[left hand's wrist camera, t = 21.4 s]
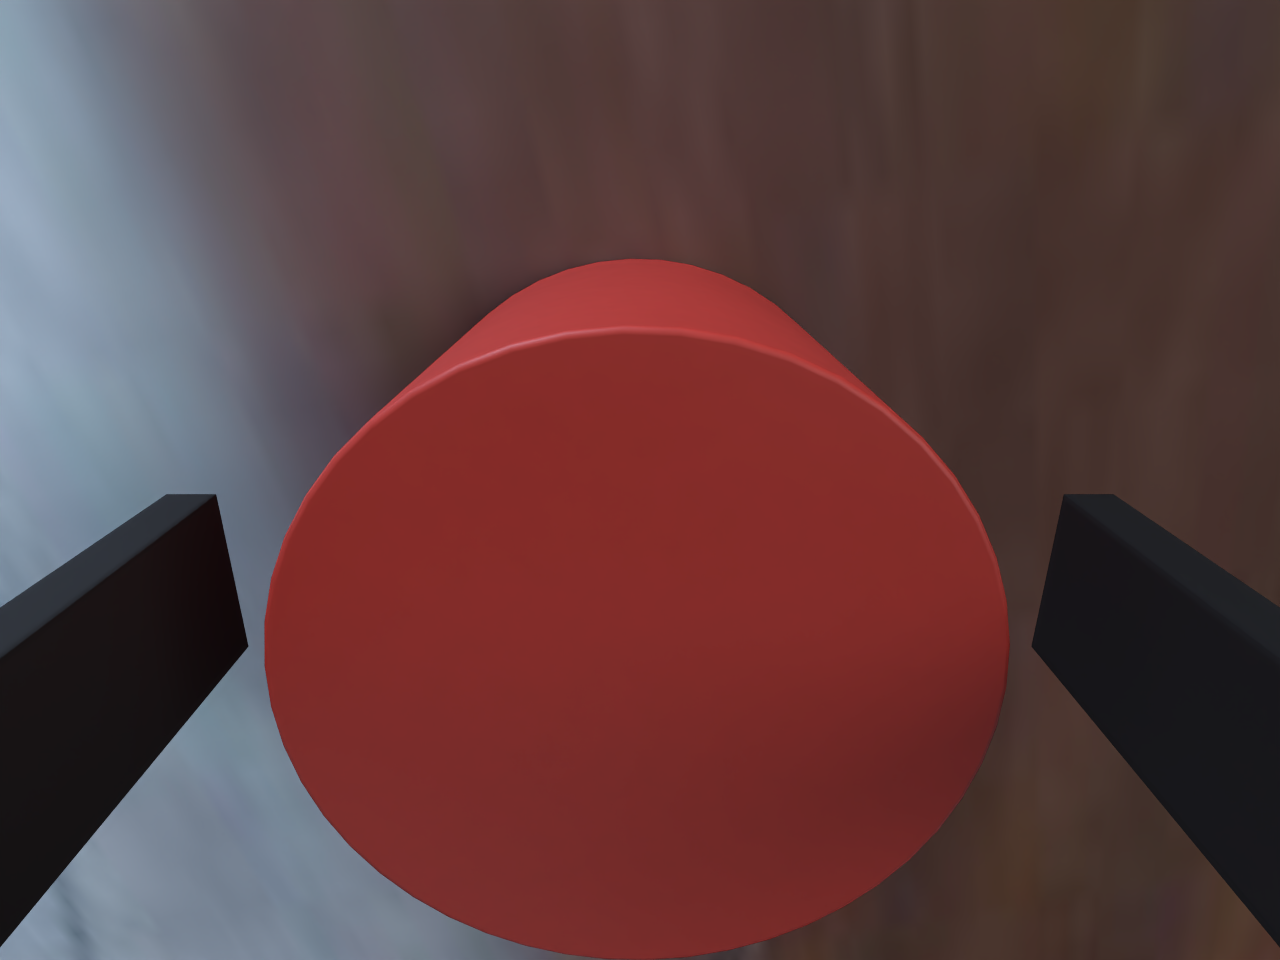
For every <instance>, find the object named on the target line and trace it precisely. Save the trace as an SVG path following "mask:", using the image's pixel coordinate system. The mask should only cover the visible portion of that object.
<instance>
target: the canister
mask: <svg viewBox="0 0 1280 960" xmlns="http://www.w3.org/2000/svg"><path fill="white" fill-rule="evenodd" d="M1009 647H1010V641H1009V627H1008V614H1007V601H1006V596H1005V591H1004V587H1003V583H1002V579H1001V575H1000V570H999V566H998V562H997V558H996V555H995V553H994V550H993V548H992V545H991V543H990V540H989V538H988V536H987V533H986V531H985V528H984V526H983V524H982V521H981V519H980V516H979V514H978V513H977V511H976V509H975V508H974V506H973V505H972V503H971V501H970V500H969V498H968V496H967V495H966V493H965V491H964V490H963V488H962V486H961V485H960V483H959V482H958V480H957V478H956V477H955V475H954V474H953V473H952V472H951V470H950V469H949V468H948V467H947V466H946V464H945V463H944V462H943V461H942V460H941V459H940V457H939V456H938V455H937V454H936V453H935V451H934V450H933V449H932V448H931V447H930V446H929V444H928V443H927V442H926V441H925V440H924V438H923V437H922V436H920V435H919V434H918V433H917V432H916V431H915V430H914V429H913V428H912V427H911V426H909V425H908V424H907V423H906V422H905V421H904V420H903V419H902V418H901V417H899V416H898V415H897V414H896V413H895V412H894V411H893V410H892V409H891V408H890V407H888V406H887V405H886V404H885V403H884V402H883V401H882V400H881V399H880V398H879V397H877V396H876V395H875V394H874V393H873V392H872V391H871V390H870V389H869V388H868V387H866V386H865V385H864V384H863V383H862V382H861V381H860V380H859V379H858V378H856V377H855V376H854V375H853V374H852V373H851V372H850V371H849V370H848V369H847V368H845V367H844V366H843V365H842V364H841V363H840V362H839V361H838V360H837V359H836V358H834V357H833V356H832V355H831V354H830V353H829V352H828V351H827V350H826V349H825V348H823V347H822V346H821V345H820V344H819V343H818V342H817V341H816V340H815V339H814V338H812V337H811V336H810V335H809V334H808V333H807V332H806V331H805V330H804V329H802V328H801V327H800V326H799V325H798V324H797V323H796V322H795V321H794V320H792V319H791V318H790V317H789V316H788V315H787V314H786V313H784V312H783V311H782V310H781V309H780V308H779V307H778V306H776V305H775V304H774V303H772V302H771V301H769V300H768V299H766V298H765V297H763V296H762V295H760V294H758V293H757V292H755V291H754V290H752V289H751V288H749V287H747V286H745V285H743V284H741V283H739V282H736V281H734V280H732V279H730V278H728V277H726V276H724V275H722V274H718V273H715V272H712V271H709V270H706V269H703V268H699V267H696V266H693V265H688V264H682V263H676V262H670V261H665V260H649V259H623V260H613V261H603V262H596V263H592V264H588V265H584V266H580V267H576V268H571V269H567V270H565V271H562V272H560V273H557V274H555V275H552V276H550V277H547V278H544V279H542V280H539V281H537V282H536V283H534V284H532V285H530V286H528V287H527V288H525V289H523V290H521V291H520V292H518V293H516V294H514V295H512V296H511V297H510V298H508V299H507V300H506V301H504V302H503V303H502V304H500V305H499V306H498V307H497V308H495V309H494V310H493V311H491V312H490V313H489V314H487V315H486V316H485V317H484V318H483V319H482V320H481V321H480V322H478V323H477V324H476V325H475V326H474V327H473V328H472V329H471V330H470V331H468V332H467V333H466V334H465V335H464V336H463V337H462V338H461V339H459V340H458V341H457V342H456V343H455V344H454V345H453V346H452V347H451V348H449V349H448V350H447V351H446V352H445V353H444V354H443V355H442V356H440V357H439V358H438V359H437V360H436V361H435V362H434V363H433V364H431V365H430V366H429V367H428V368H427V369H426V370H425V371H424V372H423V373H421V374H420V375H419V376H418V377H417V378H416V379H415V380H414V381H412V382H411V383H410V384H409V385H408V386H407V387H406V388H405V389H404V390H402V391H401V392H400V393H399V394H398V395H397V396H396V397H395V398H393V399H392V400H391V401H390V402H389V403H388V404H387V405H386V406H385V407H383V408H382V409H381V410H380V411H379V412H378V413H377V414H376V415H374V416H373V417H372V418H371V419H370V420H369V421H368V422H367V423H366V424H365V425H364V426H363V427H362V428H361V429H360V430H359V431H358V432H357V433H356V434H355V435H354V436H353V437H352V438H351V439H350V440H349V441H348V442H347V443H346V444H345V445H344V446H343V447H342V448H341V449H340V450H339V451H338V452H337V453H336V454H335V455H334V457H333V458H332V459H331V461H330V462H329V464H328V465H327V466H326V468H325V469H324V470H323V472H322V473H321V475H320V476H319V477H318V479H317V480H316V481H315V483H314V484H313V486H312V487H311V488H310V490H309V491H308V493H307V494H306V496H305V497H304V499H303V501H302V503H301V505H300V507H299V509H298V511H297V513H296V515H295V517H294V519H293V521H292V523H291V525H290V527H289V529H288V531H287V533H286V535H285V537H284V540H283V543H282V547H281V550H280V553H279V556H278V559H277V562H276V565H275V568H274V571H273V574H272V577H271V583H270V590H269V596H268V603H267V609H266V615H265V671H266V677H267V683H268V690H269V696H270V702H271V707H272V711H273V714H274V717H275V720H276V723H277V726H278V729H279V733H280V736H281V739H282V742H283V745H284V747H285V749H286V751H287V754H288V756H289V758H290V760H291V762H292V764H293V766H294V768H295V770H296V772H297V774H298V776H299V778H300V780H301V782H302V784H303V785H304V787H305V788H306V790H307V791H308V793H309V794H310V796H311V797H312V799H313V800H314V802H315V803H316V805H317V806H318V808H319V809H320V811H321V812H322V814H323V815H324V817H325V818H326V819H327V820H328V821H329V822H330V824H331V825H332V826H333V827H334V828H335V829H336V830H337V832H338V833H339V834H340V835H341V836H342V837H343V839H344V840H345V841H346V842H347V843H348V844H349V845H350V846H351V847H352V848H353V849H354V850H355V851H356V852H357V853H358V854H359V855H360V856H362V857H363V858H364V859H365V860H366V861H367V862H368V863H369V864H370V865H372V866H373V867H374V868H375V869H376V870H377V871H378V872H379V873H380V874H382V875H383V876H385V877H386V878H387V879H389V880H390V881H392V882H393V883H394V884H396V885H397V886H399V887H400V888H401V889H403V890H404V891H406V892H407V893H408V894H410V895H411V896H413V897H414V898H416V899H418V900H420V901H421V902H423V903H425V904H427V905H428V906H430V907H432V908H434V909H436V910H437V911H439V912H441V913H443V914H444V915H446V916H448V917H450V918H452V919H455V920H457V921H459V922H462V923H464V924H466V925H469V926H471V927H473V928H476V929H478V930H480V931H482V932H485V933H487V934H491V935H494V936H497V937H500V938H503V939H506V940H509V941H513V942H516V943H519V944H522V945H525V946H530V947H534V948H539V949H544V950H548V951H553V952H558V953H562V954H568V955H577V956H585V957H594V958H602V959H631V960H653V959H667V958H681V957H691V956H697V955H703V954H709V953H715V952H721V951H727V950H732V949H735V948H739V947H743V946H747V945H750V944H754V943H758V942H761V941H765V940H769V939H772V938H774V937H777V936H779V935H782V934H785V933H787V932H790V931H793V930H795V929H798V928H801V927H803V926H806V925H808V924H810V923H812V922H814V921H816V920H818V919H820V918H822V917H824V916H826V915H828V914H830V913H832V912H834V911H836V910H838V909H840V908H842V907H844V906H846V905H847V904H849V903H851V902H852V901H854V900H855V899H857V898H858V897H860V896H862V895H863V894H865V893H866V892H868V891H869V890H871V889H872V888H874V887H876V886H877V885H879V884H880V883H881V882H882V881H884V880H885V879H886V878H887V877H888V876H890V875H891V874H892V873H893V872H895V871H896V870H897V869H898V868H900V867H901V866H902V865H903V864H905V863H906V862H907V861H908V860H909V859H910V858H911V857H912V856H913V855H914V854H915V853H916V852H917V851H918V850H919V849H920V848H921V847H922V846H923V845H924V844H925V843H926V842H927V841H928V840H929V839H930V838H931V837H932V836H933V835H934V834H935V833H936V832H937V831H938V830H939V828H940V827H941V826H942V824H943V823H944V822H945V820H946V819H947V818H948V816H949V815H950V814H951V812H952V811H953V810H954V808H955V807H956V806H957V805H958V803H959V802H960V801H961V799H962V798H963V796H964V794H965V792H966V791H967V789H968V787H969V785H970V784H971V782H972V780H973V778H974V777H975V775H976V773H977V771H978V770H979V768H980V766H981V764H982V762H983V760H984V757H985V755H986V752H987V750H988V747H989V745H990V742H991V740H992V737H993V735H994V732H995V730H996V727H997V723H998V719H999V715H1000V711H1001V707H1002V702H1003V698H1004V694H1005V690H1006V684H1007V672H1008V660H1009Z"/></svg>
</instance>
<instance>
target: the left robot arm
mask: <svg viewBox="0 0 1280 960" xmlns="http://www.w3.org/2000/svg"><path fill="white" fill-rule="evenodd" d="M247 648H248V642H247V637H246V633H245V628H244V623H243V618H242V614H241V609H240V604H239V600H238V595H237V590H236V586H235V581H234V576H233V571H232V567H231V562H230V557H229V553H228V548H227V543H226V539H225V534H224V529H223V524H222V520H221V515H220V510H219V506H218V501H217V496H216V494H166V495H165V496H163V497H162V498H161V499H159V500H158V501H156V502H155V503H153V504H152V505H150V506H149V507H147V508H146V509H144V510H143V511H141V512H140V513H139V514H137V515H136V516H134V517H133V518H131V519H130V520H128V521H127V522H125V523H124V524H122V525H121V526H119V527H118V528H117V529H115V530H114V531H112V532H111V533H109V534H108V535H106V536H105V537H103V538H102V539H100V540H99V541H97V542H96V543H94V544H93V545H92V546H90V547H89V548H87V549H86V550H84V551H83V552H81V553H80V554H78V555H77V556H75V557H74V558H72V559H71V560H70V561H68V562H67V563H65V564H64V565H62V566H61V567H59V568H58V569H56V570H55V571H53V572H52V573H50V574H49V575H47V576H46V577H45V578H43V579H42V580H40V581H39V582H37V583H36V584H34V585H33V586H31V587H30V588H28V589H27V590H25V591H24V592H23V593H21V594H20V595H18V596H17V597H15V598H14V599H12V600H11V601H9V602H8V603H6V604H5V605H3V606H2V607H0V947H1V946H2V944H3V943H4V942H5V941H6V940H7V938H8V937H9V936H10V935H11V934H12V932H13V931H14V930H15V929H16V927H17V926H18V925H19V924H20V923H21V921H22V920H23V919H24V918H25V917H26V915H27V914H28V913H29V912H30V911H31V909H32V908H33V907H34V906H35V904H36V903H37V902H38V901H39V900H40V898H41V897H42V896H43V895H44V894H45V892H46V891H47V890H48V889H49V888H50V886H51V885H52V884H53V883H54V881H55V880H56V879H57V878H58V877H59V875H60V874H61V873H62V872H63V871H64V869H65V868H66V867H67V866H68V864H69V863H70V862H71V861H72V860H73V858H74V857H75V856H76V855H77V854H78V852H79V851H80V850H81V849H82V848H83V846H84V845H85V844H86V843H87V841H88V840H89V839H90V838H91V837H92V835H93V834H94V833H95V832H96V831H97V829H98V828H99V827H100V826H101V825H102V823H103V822H104V821H105V820H106V818H107V817H108V816H109V815H110V814H111V812H112V811H113V810H114V809H115V808H116V806H117V805H118V804H119V803H120V801H121V800H122V799H123V798H124V797H125V795H126V794H127V793H128V792H129V791H130V789H131V788H132V787H133V786H134V785H135V783H136V782H137V781H138V780H139V778H140V777H141V776H142V775H143V774H144V772H145V771H146V770H147V769H148V768H149V766H150V765H151V764H152V763H153V761H154V760H155V759H156V758H157V757H158V755H159V754H160V753H161V752H162V751H163V749H164V748H165V747H166V746H167V745H168V743H169V742H170V741H171V740H172V738H173V737H174V736H175V735H176V734H177V732H178V731H179V730H180V729H181V728H182V726H183V725H184V724H185V723H186V722H187V720H188V719H189V718H190V717H191V715H192V714H193V713H194V712H195V711H196V709H197V708H198V707H199V706H200V705H201V703H202V702H203V701H204V700H205V698H206V697H207V696H208V695H209V694H210V692H211V691H212V690H213V689H214V688H215V686H216V685H217V684H218V683H219V682H220V680H221V679H222V678H223V677H224V675H225V674H226V673H227V672H228V671H229V669H230V668H231V667H232V666H233V665H234V663H235V662H236V661H237V660H238V659H239V657H240V656H241V655H242V654H243V652H244V651H245V650H246V649H247ZM1032 648H1033V649H1034V650H1035V651H1036V652H1037V654H1038V655H1039V656H1040V657H1041V659H1042V660H1043V661H1044V662H1045V663H1046V665H1047V666H1048V667H1049V668H1050V669H1051V671H1052V672H1053V673H1054V674H1055V675H1056V677H1057V678H1058V679H1059V680H1060V682H1061V683H1062V684H1063V685H1064V686H1065V688H1066V689H1067V690H1068V691H1069V692H1070V694H1071V695H1072V696H1073V697H1074V698H1075V700H1076V701H1077V702H1078V703H1079V705H1080V706H1081V707H1082V708H1083V709H1084V711H1085V712H1086V713H1087V714H1088V715H1089V717H1090V718H1091V719H1092V720H1093V722H1094V723H1095V724H1096V725H1097V726H1098V728H1099V729H1100V730H1101V731H1102V732H1103V734H1104V735H1105V736H1106V737H1107V738H1108V740H1109V741H1110V742H1111V743H1112V745H1113V746H1114V747H1115V748H1116V749H1117V751H1118V752H1119V753H1120V754H1121V755H1122V757H1123V758H1124V759H1125V760H1126V761H1127V763H1128V764H1129V765H1130V766H1131V768H1132V769H1133V770H1134V771H1135V772H1136V774H1137V775H1138V776H1139V777H1140V778H1141V780H1142V781H1143V782H1144V783H1145V785H1146V786H1147V787H1148V788H1149V789H1150V791H1151V792H1152V793H1153V794H1154V795H1155V797H1156V798H1157V799H1158V800H1159V801H1160V803H1161V804H1162V805H1163V806H1164V808H1165V809H1166V810H1167V811H1168V812H1169V814H1170V815H1171V816H1172V817H1173V818H1174V820H1175V821H1176V822H1177V823H1178V825H1179V826H1180V827H1181V828H1182V829H1183V831H1184V832H1185V833H1186V834H1187V835H1188V837H1189V838H1190V839H1191V840H1192V841H1193V843H1194V844H1195V845H1196V846H1197V848H1198V849H1199V850H1200V851H1201V852H1202V854H1203V855H1204V856H1205V857H1206V858H1207V860H1208V861H1209V862H1210V863H1211V864H1212V866H1213V867H1214V868H1215V869H1216V871H1217V872H1218V873H1219V874H1220V875H1221V877H1222V878H1223V879H1224V880H1225V881H1226V883H1227V884H1228V885H1229V886H1230V888H1231V889H1232V890H1233V891H1234V892H1235V894H1236V895H1237V896H1238V897H1239V898H1240V900H1241V901H1242V902H1243V903H1244V904H1245V906H1246V907H1247V908H1248V909H1249V911H1250V912H1251V913H1252V914H1253V915H1254V917H1255V918H1256V919H1257V920H1258V921H1259V923H1260V924H1261V925H1262V926H1263V927H1264V929H1265V930H1266V931H1267V932H1268V934H1269V935H1270V936H1271V937H1272V938H1273V940H1274V941H1275V942H1276V943H1277V944H1278V946H1279V947H1280V607H1278V606H1277V605H1275V604H1274V603H1272V602H1271V601H1269V600H1268V599H1266V598H1265V597H1263V596H1262V595H1260V594H1259V593H1257V592H1256V591H1255V590H1253V589H1252V588H1250V587H1249V586H1247V585H1246V584H1244V583H1243V582H1241V581H1240V580H1238V579H1237V578H1235V577H1234V576H1233V575H1231V574H1230V573H1228V572H1227V571H1225V570H1224V569H1222V568H1221V567H1219V566H1218V565H1216V564H1215V563H1213V562H1212V561H1210V560H1209V559H1208V558H1206V557H1205V556H1203V555H1202V554H1200V553H1199V552H1197V551H1196V550H1194V549H1193V548H1191V547H1190V546H1188V545H1187V544H1186V543H1184V542H1183V541H1181V540H1180V539H1178V538H1177V537H1175V536H1174V535H1172V534H1171V533H1169V532H1168V531H1166V530H1165V529H1163V528H1162V527H1161V526H1159V525H1158V524H1156V523H1155V522H1153V521H1152V520H1150V519H1149V518H1147V517H1146V516H1144V515H1143V514H1141V513H1140V512H1139V511H1137V510H1136V509H1134V508H1133V507H1131V506H1130V505H1128V504H1127V503H1125V502H1124V501H1122V500H1121V499H1119V498H1118V497H1117V496H1115V495H1114V494H1064V496H1063V501H1062V506H1061V510H1060V515H1059V520H1058V524H1057V529H1056V534H1055V539H1054V543H1053V548H1052V553H1051V557H1050V562H1049V567H1048V571H1047V576H1046V581H1045V586H1044V590H1043V595H1042V600H1041V604H1040V609H1039V614H1038V618H1037V623H1036V628H1035V633H1034V637H1033V642H1032Z"/></svg>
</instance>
